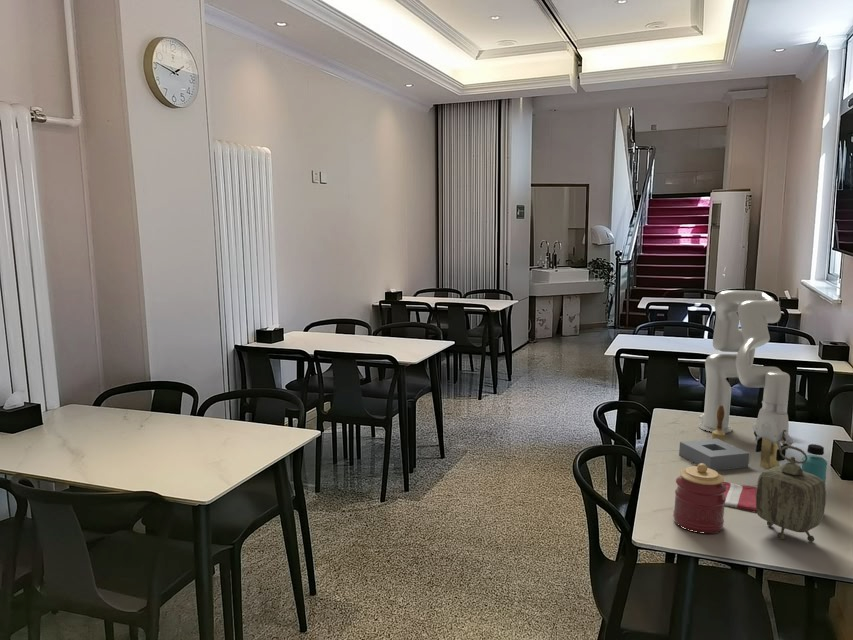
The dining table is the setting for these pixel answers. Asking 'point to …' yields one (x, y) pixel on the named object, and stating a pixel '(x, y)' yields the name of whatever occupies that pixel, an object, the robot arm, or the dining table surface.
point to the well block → (714, 454)
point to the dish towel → (740, 496)
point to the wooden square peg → (768, 454)
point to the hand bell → (719, 426)
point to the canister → (700, 499)
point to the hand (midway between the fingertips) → (770, 455)
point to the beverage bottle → (815, 462)
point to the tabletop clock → (791, 497)
